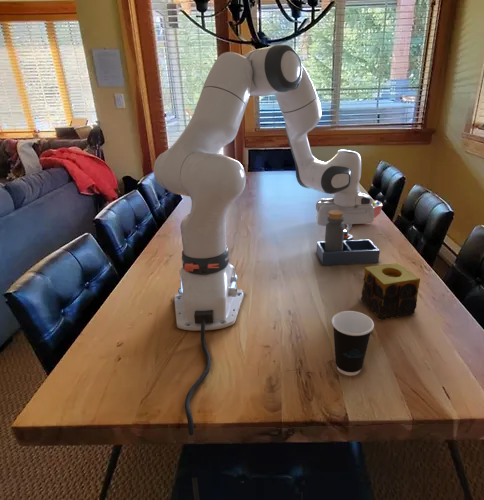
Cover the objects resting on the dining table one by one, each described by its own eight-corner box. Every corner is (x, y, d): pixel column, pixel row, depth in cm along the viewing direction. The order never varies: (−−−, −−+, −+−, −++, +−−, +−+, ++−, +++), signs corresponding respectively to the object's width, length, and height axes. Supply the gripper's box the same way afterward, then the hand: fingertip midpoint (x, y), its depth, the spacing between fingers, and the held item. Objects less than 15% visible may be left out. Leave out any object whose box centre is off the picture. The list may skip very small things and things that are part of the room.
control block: (357, 248, 131) (358, 240, 130) (335, 249, 131) (335, 241, 129) (349, 238, 140) (350, 230, 139) (328, 239, 140) (329, 231, 139)
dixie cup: (349, 387, 71) (353, 339, 66) (320, 364, 77) (323, 319, 72) (377, 370, 75) (382, 324, 71) (347, 349, 81) (351, 306, 76)
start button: (349, 241, 133) (349, 237, 133) (339, 242, 133) (339, 237, 132) (346, 238, 137) (347, 233, 136) (337, 238, 136) (337, 234, 136)
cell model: (386, 228, 150) (389, 200, 145) (336, 229, 150) (337, 201, 145) (374, 214, 165) (377, 189, 161) (329, 215, 165) (330, 190, 161)
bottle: (330, 250, 128) (332, 208, 122) (345, 254, 124) (348, 211, 118) (321, 256, 123) (323, 212, 117) (336, 260, 120) (339, 216, 114)
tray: (378, 262, 121) (379, 250, 119) (322, 265, 119) (322, 253, 118) (368, 250, 129) (369, 239, 128) (316, 253, 128) (316, 241, 126)
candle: (379, 321, 90) (383, 285, 86) (359, 300, 99) (362, 266, 95) (416, 314, 93) (422, 279, 89) (393, 294, 102) (397, 261, 98)
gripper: (318, 201, 125) (316, 239, 131) (377, 199, 127) (373, 237, 132) (314, 196, 131) (313, 233, 136) (371, 194, 132) (368, 230, 138)
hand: (343, 235), depth 134 cm, fingers closed, pressing on start button
